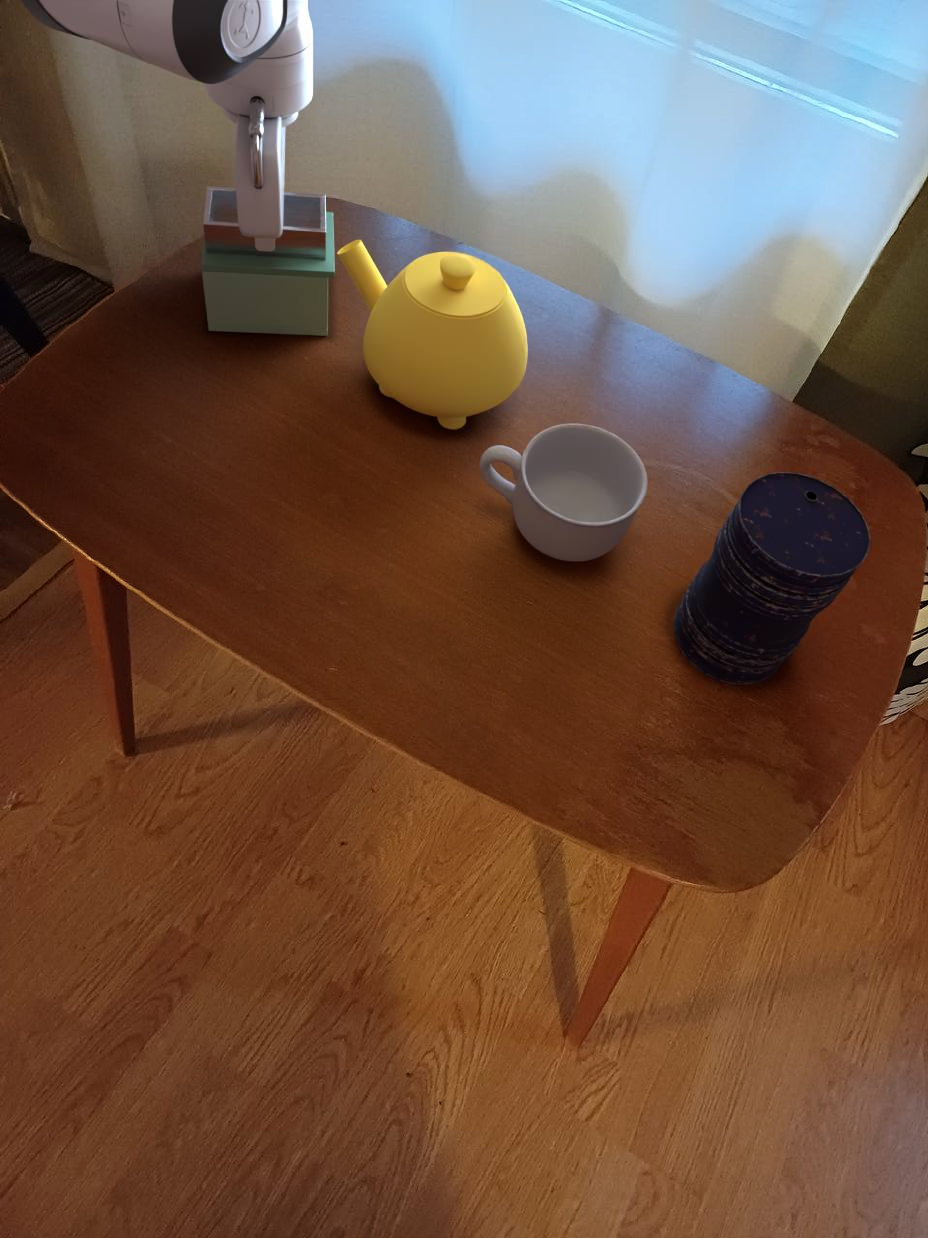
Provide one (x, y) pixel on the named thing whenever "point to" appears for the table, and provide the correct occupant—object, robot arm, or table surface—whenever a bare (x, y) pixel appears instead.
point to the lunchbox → (266, 303)
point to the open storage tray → (296, 241)
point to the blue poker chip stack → (769, 576)
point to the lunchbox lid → (275, 261)
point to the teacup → (571, 489)
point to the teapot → (441, 333)
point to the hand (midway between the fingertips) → (266, 222)
